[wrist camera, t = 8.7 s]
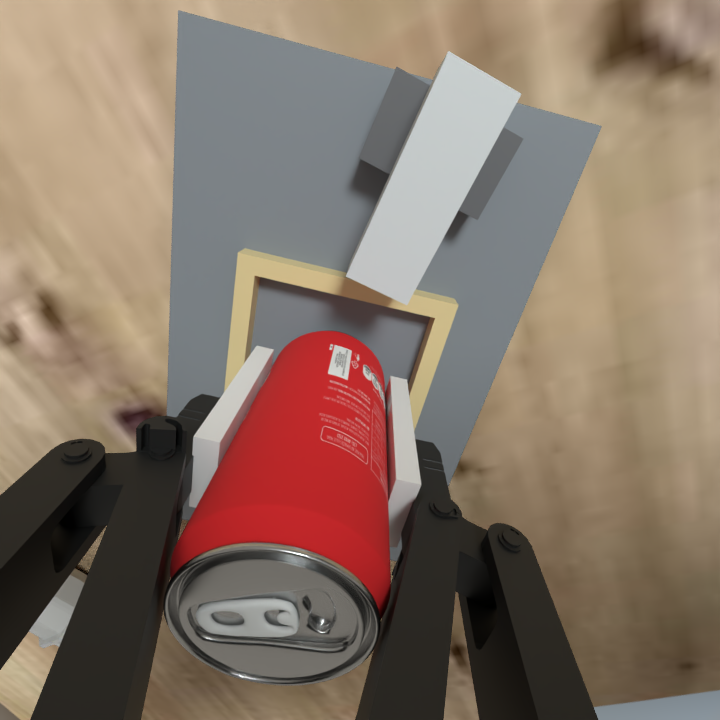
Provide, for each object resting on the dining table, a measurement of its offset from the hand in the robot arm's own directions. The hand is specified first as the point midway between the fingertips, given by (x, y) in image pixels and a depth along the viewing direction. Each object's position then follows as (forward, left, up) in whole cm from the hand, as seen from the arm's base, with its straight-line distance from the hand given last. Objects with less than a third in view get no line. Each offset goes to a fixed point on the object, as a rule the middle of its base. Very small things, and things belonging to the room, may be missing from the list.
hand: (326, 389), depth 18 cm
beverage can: (0, 0, -2) cm, 2 cm away
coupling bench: (0, 0, -3) cm, 3 cm away
